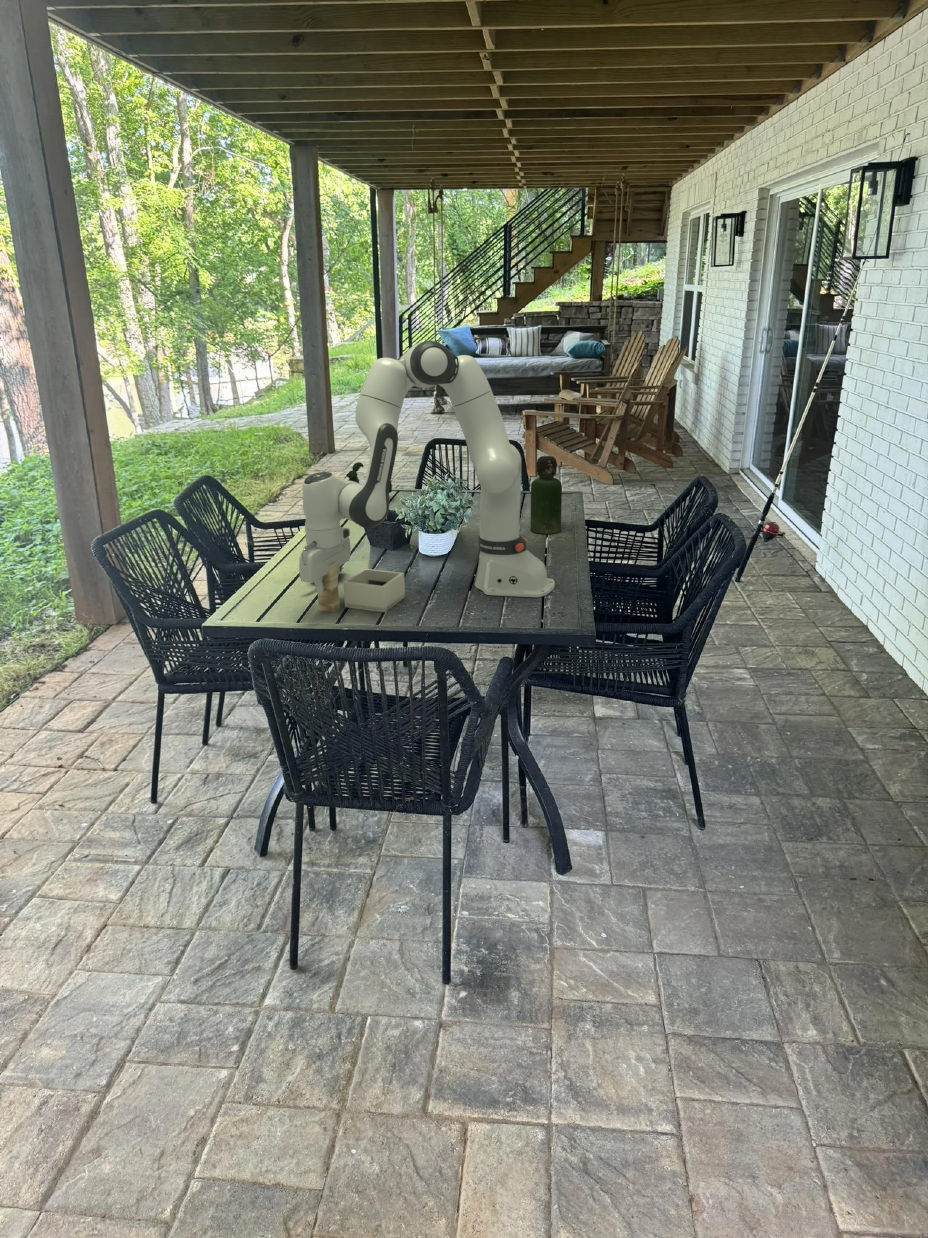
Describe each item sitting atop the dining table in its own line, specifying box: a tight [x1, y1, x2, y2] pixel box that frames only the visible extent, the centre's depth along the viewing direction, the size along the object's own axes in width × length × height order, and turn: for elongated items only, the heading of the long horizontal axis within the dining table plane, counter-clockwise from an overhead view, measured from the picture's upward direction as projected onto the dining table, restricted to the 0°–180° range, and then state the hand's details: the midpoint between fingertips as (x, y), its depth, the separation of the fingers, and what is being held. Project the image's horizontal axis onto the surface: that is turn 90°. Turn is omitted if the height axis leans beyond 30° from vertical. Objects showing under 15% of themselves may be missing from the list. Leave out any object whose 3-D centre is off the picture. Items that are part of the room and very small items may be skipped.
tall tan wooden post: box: [317, 562, 340, 613], centre depth 225 cm, size 4×3×13 cm, turn 68°
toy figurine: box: [345, 461, 393, 494], centre depth 329 cm, size 9×19×25 cm
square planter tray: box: [342, 568, 406, 613], centre depth 231 cm, size 12×12×7 cm
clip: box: [368, 580, 387, 586], centre depth 231 cm, size 6×6×4 cm
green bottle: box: [530, 455, 563, 535], centre depth 289 cm, size 10×10×25 cm
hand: (327, 587), depth 226 cm, fingers open, 5 cm apart
